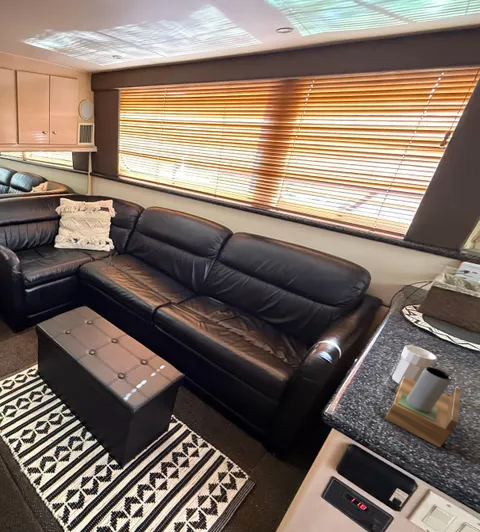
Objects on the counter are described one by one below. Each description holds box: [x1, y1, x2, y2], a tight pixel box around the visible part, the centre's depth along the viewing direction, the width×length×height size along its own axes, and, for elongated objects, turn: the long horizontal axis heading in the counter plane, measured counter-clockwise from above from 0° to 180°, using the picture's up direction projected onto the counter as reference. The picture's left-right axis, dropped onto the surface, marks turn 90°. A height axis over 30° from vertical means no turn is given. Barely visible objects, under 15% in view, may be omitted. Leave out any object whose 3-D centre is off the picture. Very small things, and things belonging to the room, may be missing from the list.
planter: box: [406, 366, 453, 412], centre depth 78 cm, size 4×4×10 cm
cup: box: [391, 344, 438, 385], centre depth 94 cm, size 7×7×11 cm
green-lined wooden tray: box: [384, 377, 462, 448], centre depth 82 cm, size 18×10×8 cm, turn 129°
